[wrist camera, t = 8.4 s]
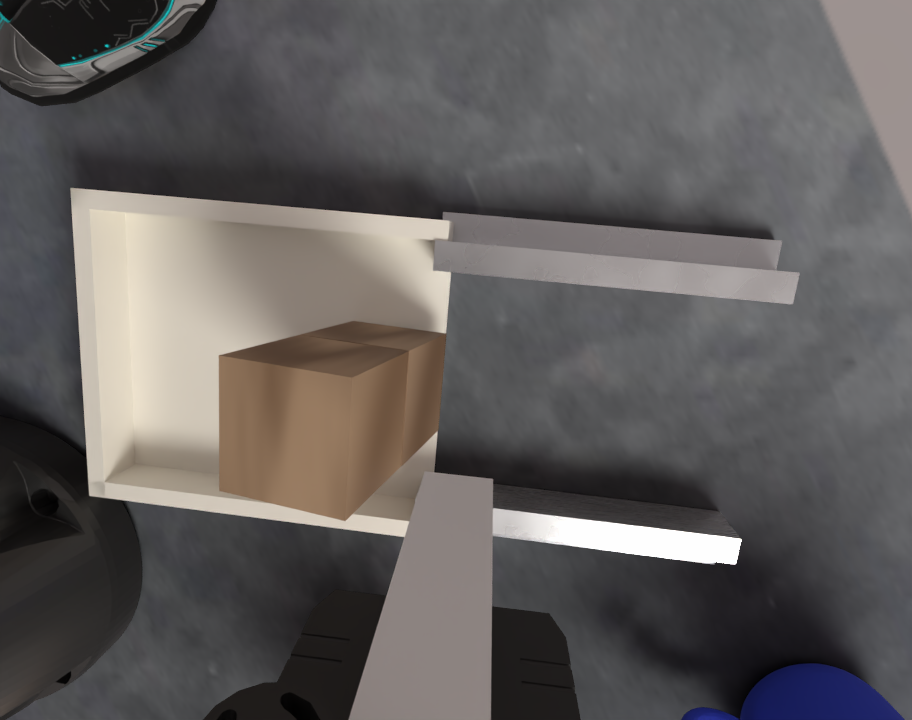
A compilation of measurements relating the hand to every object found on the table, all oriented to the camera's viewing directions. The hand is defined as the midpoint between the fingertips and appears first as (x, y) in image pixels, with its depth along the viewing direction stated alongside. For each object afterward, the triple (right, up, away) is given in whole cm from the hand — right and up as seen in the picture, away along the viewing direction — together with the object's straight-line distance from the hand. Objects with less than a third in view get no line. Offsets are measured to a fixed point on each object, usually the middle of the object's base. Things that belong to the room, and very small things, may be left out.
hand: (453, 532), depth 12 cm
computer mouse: (-14, +19, +12) cm, 27 cm away
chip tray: (-8, +4, +14) cm, 17 cm away
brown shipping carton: (-2, +2, +6) cm, 7 cm away
